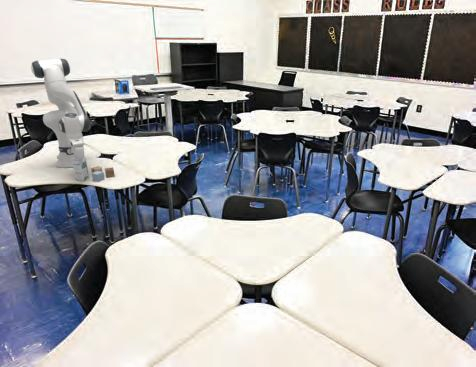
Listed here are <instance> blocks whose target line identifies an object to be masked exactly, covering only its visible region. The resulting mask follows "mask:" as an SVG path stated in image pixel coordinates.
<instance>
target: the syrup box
mask: <svg viewBox="0 0 476 367" xmlns="http://www.w3.org/2000/svg"><path fill="white" fill-rule="evenodd" d="M82 162H83V164H81V165H80V164H79V159H78V158H77V157H74V158H72V163H73V167H72V169H73V171H74V172H73V173H74V176H75V181H80V182H81V181H82V182H83V181H86V180H87V179H90V174H89V171H88V165H87V159H86V156H85V155H84V158H82Z"/></svg>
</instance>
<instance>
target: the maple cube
mask: <svg viewBox="0 0 476 367" xmlns="http://www.w3.org/2000/svg"><path fill="white" fill-rule="evenodd" d="M90 171H91V173H94V172H96V171H101V172H104V171H103V167H102V166H100V165H97V166H96V165H95V166H92V167H90Z"/></svg>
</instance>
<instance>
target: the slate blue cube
mask: <svg viewBox="0 0 476 367" xmlns="http://www.w3.org/2000/svg"><path fill="white" fill-rule="evenodd" d="M104 173H105V172H104V171H103V172H101V171H96V172H94V173H92V172H91V178H92V182H98V183H99V182H102V181H104V180H105V174H104Z"/></svg>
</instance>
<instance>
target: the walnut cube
mask: <svg viewBox="0 0 476 367" xmlns="http://www.w3.org/2000/svg"><path fill="white" fill-rule="evenodd" d="M114 170H115V169H114V167H105V168H104V171H105V172H104V173H105V177H106V179H109V178H115V177H116V176H115V171H114Z"/></svg>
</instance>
